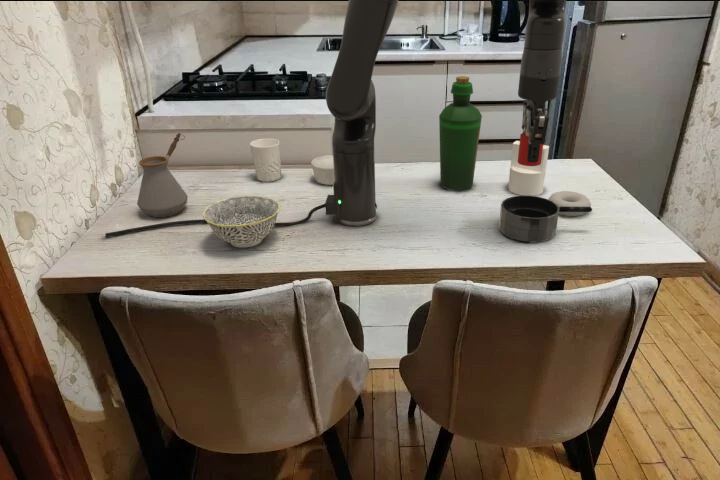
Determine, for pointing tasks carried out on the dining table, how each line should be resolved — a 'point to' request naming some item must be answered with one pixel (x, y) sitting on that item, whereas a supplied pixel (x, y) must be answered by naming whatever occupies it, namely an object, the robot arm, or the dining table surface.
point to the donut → (570, 201)
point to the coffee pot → (160, 186)
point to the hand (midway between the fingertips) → (529, 157)
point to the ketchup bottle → (524, 150)
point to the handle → (575, 209)
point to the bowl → (242, 219)
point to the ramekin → (323, 169)
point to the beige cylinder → (266, 159)
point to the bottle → (459, 138)
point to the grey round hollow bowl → (528, 218)
